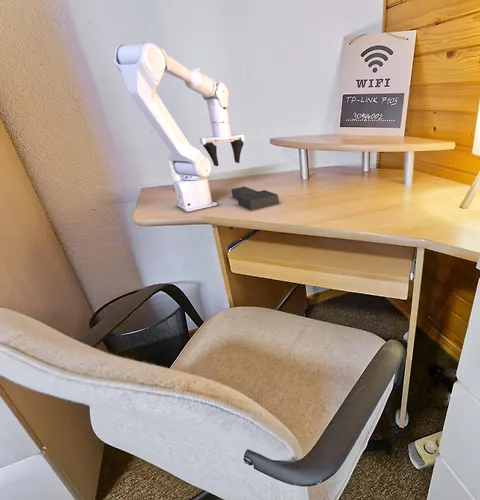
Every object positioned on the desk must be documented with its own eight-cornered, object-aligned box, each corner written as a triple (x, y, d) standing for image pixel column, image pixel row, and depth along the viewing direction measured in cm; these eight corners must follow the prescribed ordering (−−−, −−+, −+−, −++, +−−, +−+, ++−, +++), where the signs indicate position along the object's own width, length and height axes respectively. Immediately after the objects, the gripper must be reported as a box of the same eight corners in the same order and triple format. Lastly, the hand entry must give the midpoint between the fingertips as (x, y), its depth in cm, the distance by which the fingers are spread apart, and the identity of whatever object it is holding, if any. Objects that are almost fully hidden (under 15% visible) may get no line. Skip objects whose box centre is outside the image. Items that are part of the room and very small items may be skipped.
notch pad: (251, 210, 97) (249, 201, 96) (238, 204, 102) (237, 195, 101) (278, 203, 104) (278, 194, 102) (265, 198, 109) (264, 189, 107)
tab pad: (248, 204, 102) (247, 195, 101) (232, 197, 110) (231, 189, 108) (262, 201, 106) (261, 192, 104) (245, 194, 113) (244, 186, 112)
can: (198, 187, 122) (191, 154, 117) (188, 191, 116) (181, 158, 111) (182, 186, 123) (174, 154, 117) (172, 191, 117) (163, 157, 112)
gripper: (235, 120, 112) (240, 159, 118) (192, 122, 102) (201, 165, 108) (244, 121, 107) (250, 162, 113) (201, 123, 98) (210, 168, 104)
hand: (227, 164), depth 110 cm, fingers open, 7 cm apart
